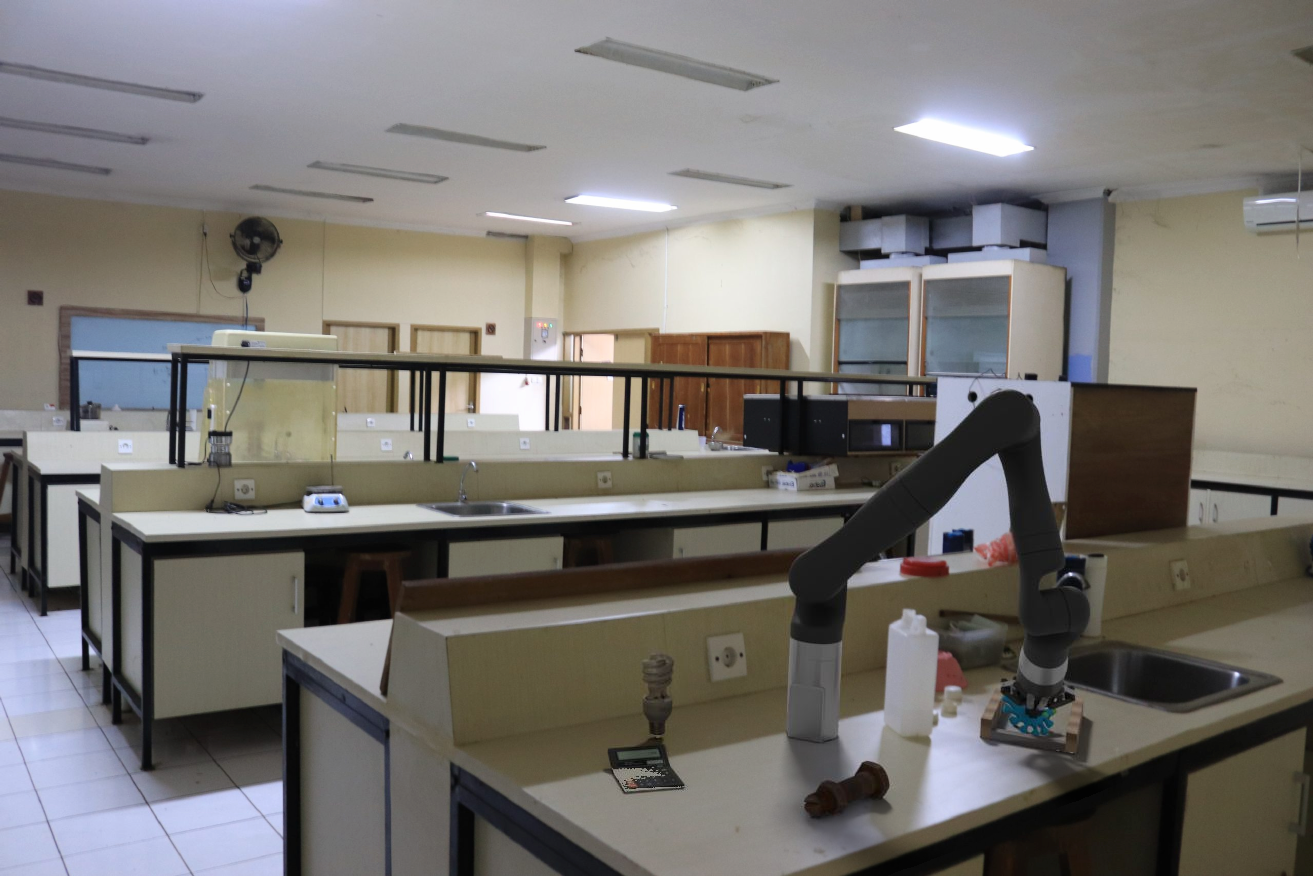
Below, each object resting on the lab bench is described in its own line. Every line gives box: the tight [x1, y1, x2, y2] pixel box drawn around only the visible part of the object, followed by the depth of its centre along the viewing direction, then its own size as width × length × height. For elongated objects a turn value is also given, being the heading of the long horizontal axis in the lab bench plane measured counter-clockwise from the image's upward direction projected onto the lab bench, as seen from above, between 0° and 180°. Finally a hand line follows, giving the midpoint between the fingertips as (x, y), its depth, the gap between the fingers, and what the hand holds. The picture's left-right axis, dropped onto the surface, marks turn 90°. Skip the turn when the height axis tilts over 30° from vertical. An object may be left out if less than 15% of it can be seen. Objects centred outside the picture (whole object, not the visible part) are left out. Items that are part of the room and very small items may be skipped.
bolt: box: [803, 760, 891, 818], centre depth 144 cm, size 6×5×15 cm
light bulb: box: [641, 651, 675, 736], centre depth 170 cm, size 6×6×15 cm
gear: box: [1002, 695, 1058, 736], centre depth 182 cm, size 11×6×10 cm
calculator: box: [607, 744, 686, 789], centre depth 153 cm, size 9×12×3 cm
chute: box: [979, 684, 1085, 754], centre depth 184 cm, size 24×16×4 cm, turn 154°
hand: (1032, 713), depth 179 cm, fingers closed
